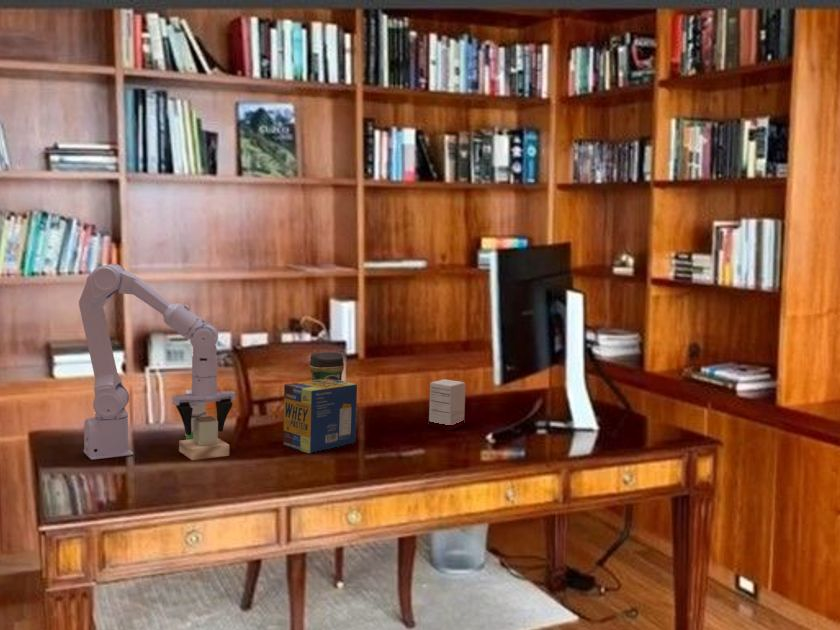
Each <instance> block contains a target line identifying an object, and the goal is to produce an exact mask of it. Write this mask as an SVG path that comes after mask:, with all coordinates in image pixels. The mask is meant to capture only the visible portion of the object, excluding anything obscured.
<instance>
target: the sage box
mask: <svg viewBox="0 0 840 630" xmlns="http://www.w3.org/2000/svg"><path fill="white" fill-rule="evenodd" d="M218 436H219V431H218V421H217V418H214V417H213V416H211V415H209V416H207V415H206V417H196V419H194V425H193V442H194V443H196V444H197V445H199V446H203V445H213V444H218V438H219V437H218Z"/></svg>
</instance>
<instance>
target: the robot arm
mask: <svg viewBox="0 0 840 630" xmlns="http://www.w3.org/2000/svg"><path fill="white" fill-rule="evenodd" d="M117 292H118V294H124V295H125V294H126V295H133V296H135V297H136V298H138V299H139V300H141V302H144V303H145V304H147V305H148V306H150V307H151V308H153V309H154V310H155V311H157V312H158V313H160V314H161V315H162V317H163V323H164V324H166V325H167V326H168V327H170V328H171V329H172V330H174V331H175V332H176V333H177V334H179V335H180V336H181V337H183V338H185V339H186V340H189V342H190V344H191V346H192V357H191V390H192V393H190V394H185V393H184V394H178V395H172V405H174V406H175V407H176V409H177V412H178V413H179V415H180V417H181V419H182V423H183V428H184V435H185V434H187V435H191V417H192V410H193V408H192V407H190V405H189V404H191V403H202V402H206V403H211V402H212V403H213V402H215V407H216V408H215V409H216V420H217V421H218V433H219V432H220V433H221V432H223V431H224V426H225V422H226V419H227V417H228V415H229V413H230V411H231V409H232V408H233V401H236V392H235V391H233V390H227V391H224V390H223V391H218V356H217V353H218V348H217V345H216V344H217V342H218V340H219V332H218V330H217V329H216V327H215V326H214V325H213V324H212V323H210V322H207V320H206V319H205V318H203V317H202V318H200V317H199V316H198V315H196V314H195V313H194V312H192V311H191V310H190V306H189V305H187V304H186V303H185V304H182V303H181V302H179V303H178V302H176V303H172V302H170V301H169V300H168V299H166V298H165V297H163V295H161V294H160V293H159V292H157V290H155V289H154V288H152V287H151V286H150V285H149V284H148V283H147V282H146V281H144V280H143V279H142V278H140V277H139V276H137V275H136V274H134V273H133V272H131V271H130V270H126V269H125V268H124V267H123V266H121V265H120V264H117V263H108V264H106V265H105V264H104V265H103V264H102V265H100V266H97V267H95V268H94V270H93V271H91V272H90V274H89V275H88V276H87V277H86V282H85V285H84V287H83V290H82V293H81V296H80V298H79V300H78V308H79V312H80V316H81V321H82V325H83V330H84V334H85V338H86V344H87V349H88V352H89V356H90V361H91V366H92V370H93V371H92V372H93V375H94V384H93V391H94V399H93V402H92V405H93V406H92V409H93V411H94V412H95V414H94V416H93V417H90V418H89V417H88V418H85V420H84V425H83V447H84V448H83V453H84V454H85V455H86V456H87V457H88V458H89V459H90V460H100V459H101V460H102V459H109V458H119V457H127V456H133V455H134V452H133V451H132V450H130V448H129V413H128V412H127V410H126V406H127V405H128V403H129V401H130V394H129V392H128V390H127V388H126V387H125V386H124V385H123V382H122V381H123V380H122V378H121V376H120V375H119V373H118V369H117V366H116V365H117V364H116V360H115V356H114V352H113V351H114V350H113V346H112V343H111V341H112V340H111V338H110V332H109V328H108V327H109V326H108V323H107V318H106V314H105V309H104V306H105V305H106V303H108V301H109V300H110V298H112V296H113V295H115V294H116V293H117Z"/></svg>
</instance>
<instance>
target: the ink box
mask: <svg viewBox="0 0 840 630" xmlns="http://www.w3.org/2000/svg"><path fill="white" fill-rule="evenodd" d="M190 393H192V389H185V393H184V394H190ZM189 405H190V407H192V408H193V410H192V417H191V435H187V434H185V433H184V436H186V437H185V440H190V439H193V425H194V419H196V417H207V402H202V403H191V404H189Z"/></svg>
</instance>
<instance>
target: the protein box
mask: <svg viewBox="0 0 840 630" xmlns="http://www.w3.org/2000/svg"><path fill="white" fill-rule="evenodd" d="M283 387H284V389H283V391H284V393H283V446H285V447H287V448H291V449H293V450H297V451H300V452H303V453H307V454H309V453H310V454H314V453H313V452H315V453H318V452H317V451H320V452H322V451H321V450H325V449H329V450H331V449H330V448H334V447H338V448H340V447H339V446H343V445H346V444H350V443H353V442H355V443H356V439H357V436H356V435H357V433H356V432H357V405H358V404H357V401H358V400H357V398H358V395H357V394H358V384H357V383H353V382H349V381H345V380H344V381H343V380H342V379H341V380H337V379H332V378H326V379H320V380H313V381H312V380H308V381H307V380H306V381H299V382H294V383H286V384H284V385H283ZM343 447H344V446H343ZM334 449H335V448H334ZM325 451H326V450H325Z"/></svg>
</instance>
